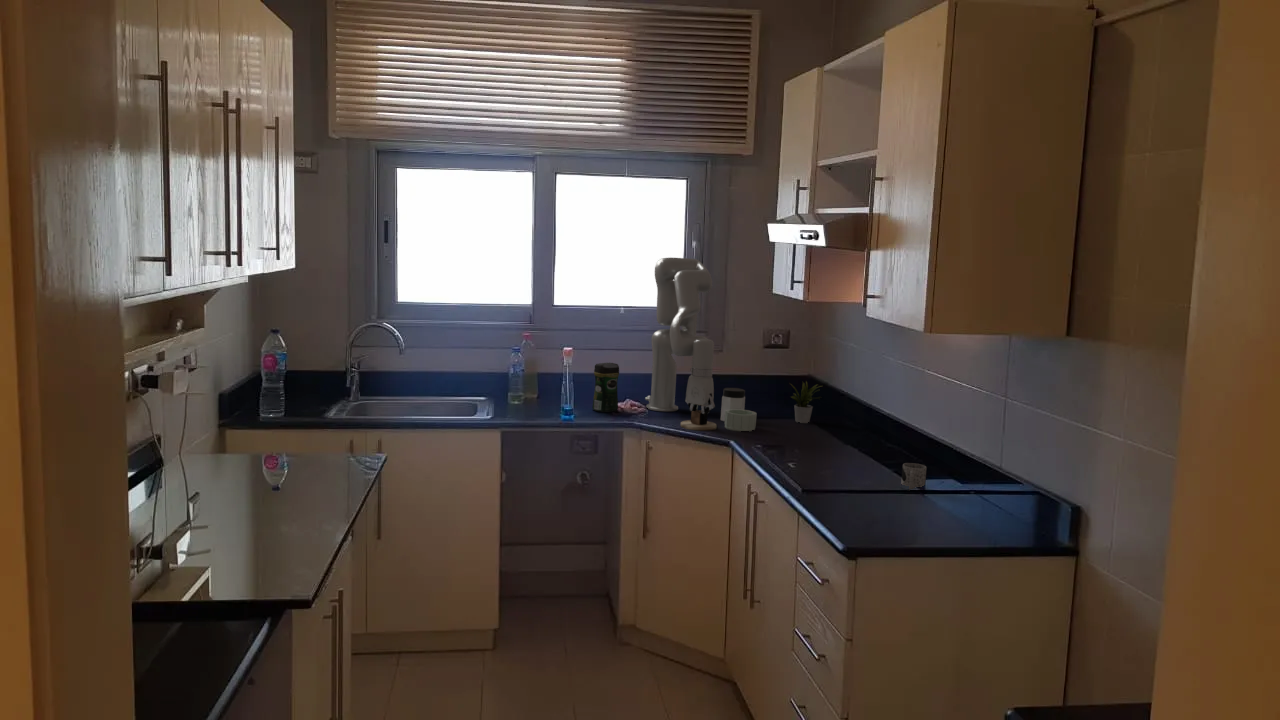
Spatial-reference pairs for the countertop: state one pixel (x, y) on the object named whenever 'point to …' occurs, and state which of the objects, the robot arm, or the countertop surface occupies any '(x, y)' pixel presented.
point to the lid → (697, 423)
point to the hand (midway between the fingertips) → (698, 422)
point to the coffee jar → (606, 387)
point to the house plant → (803, 403)
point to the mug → (913, 475)
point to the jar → (732, 400)
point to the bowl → (740, 420)
